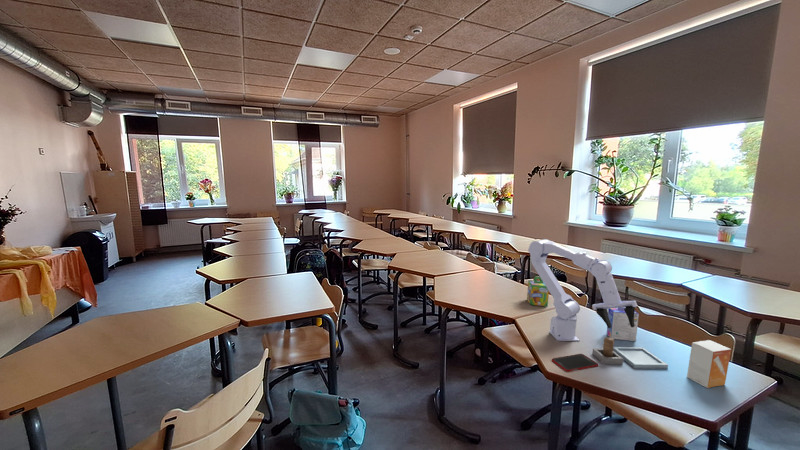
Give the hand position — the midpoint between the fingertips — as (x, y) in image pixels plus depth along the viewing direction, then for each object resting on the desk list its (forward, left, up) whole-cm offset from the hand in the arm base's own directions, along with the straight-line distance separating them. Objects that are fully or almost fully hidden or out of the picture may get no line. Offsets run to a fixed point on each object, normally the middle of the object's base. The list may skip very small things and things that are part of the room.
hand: (621, 327), depth 119 cm
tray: (+7, -2, -12) cm, 14 cm away
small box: (+20, -15, -12) cm, 27 cm away
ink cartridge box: (+12, +15, -12) cm, 23 cm away
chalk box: (-8, +53, -12) cm, 55 cm away
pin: (-5, -2, -12) cm, 13 cm away
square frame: (-5, -2, -12) cm, 13 cm away
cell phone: (-19, -5, -13) cm, 24 cm away
